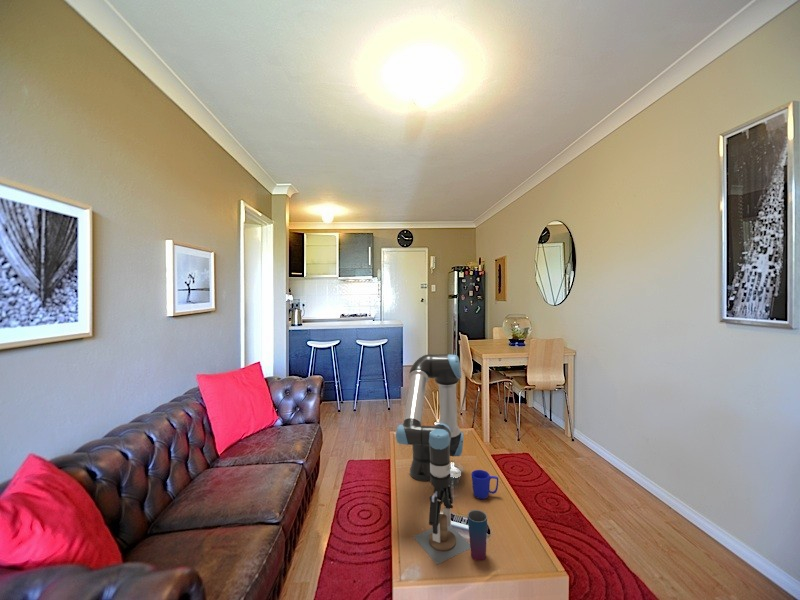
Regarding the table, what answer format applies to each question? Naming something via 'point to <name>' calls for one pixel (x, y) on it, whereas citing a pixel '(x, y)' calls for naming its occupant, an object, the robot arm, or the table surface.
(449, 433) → the robot arm
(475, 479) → the mug
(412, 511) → the table surface
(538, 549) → the table surface
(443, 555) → the mat
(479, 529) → the cup
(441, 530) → the lid
